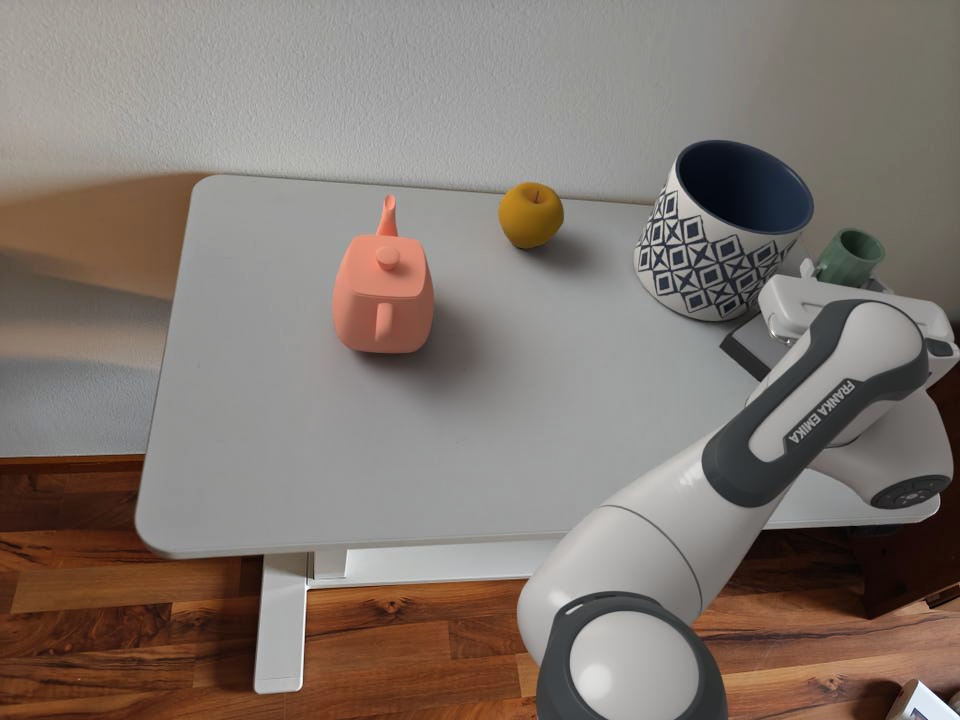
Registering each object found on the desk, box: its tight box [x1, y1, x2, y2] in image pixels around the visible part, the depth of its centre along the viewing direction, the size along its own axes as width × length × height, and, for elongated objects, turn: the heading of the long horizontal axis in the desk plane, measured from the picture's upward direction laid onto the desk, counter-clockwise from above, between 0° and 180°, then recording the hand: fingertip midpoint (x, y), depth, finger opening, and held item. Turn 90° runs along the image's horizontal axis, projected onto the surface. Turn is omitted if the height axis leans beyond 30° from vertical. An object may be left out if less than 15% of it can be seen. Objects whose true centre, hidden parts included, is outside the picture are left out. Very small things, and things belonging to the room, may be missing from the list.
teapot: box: [331, 193, 435, 354], centre depth 85 cm, size 20×12×12 cm, turn 3°
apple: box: [497, 181, 565, 250], centre depth 99 cm, size 9×9×9 cm
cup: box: [816, 227, 887, 289], centre depth 85 cm, size 6×6×10 cm
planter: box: [632, 139, 815, 322], centre depth 97 cm, size 18×18×16 cm
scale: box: [718, 310, 790, 384], centre depth 95 cm, size 11×11×3 cm
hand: (837, 268), depth 85 cm, fingers closed on cup, 6 cm apart
